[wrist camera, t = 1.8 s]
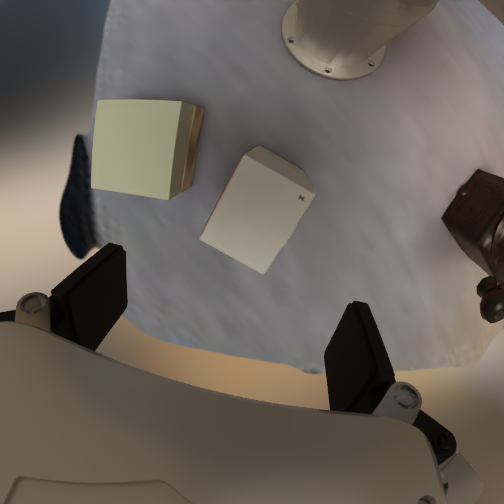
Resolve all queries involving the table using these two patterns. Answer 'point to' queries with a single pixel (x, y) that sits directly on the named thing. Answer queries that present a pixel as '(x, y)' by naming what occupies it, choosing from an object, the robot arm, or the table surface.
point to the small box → (258, 209)
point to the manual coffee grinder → (482, 236)
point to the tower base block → (192, 146)
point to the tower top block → (141, 146)
